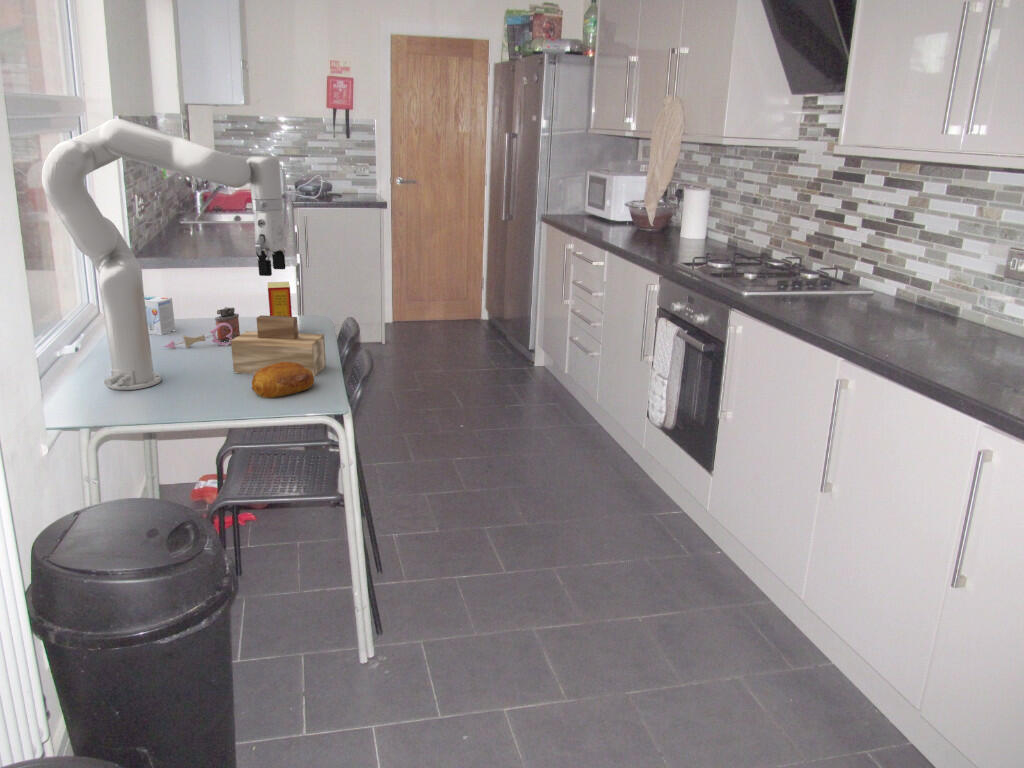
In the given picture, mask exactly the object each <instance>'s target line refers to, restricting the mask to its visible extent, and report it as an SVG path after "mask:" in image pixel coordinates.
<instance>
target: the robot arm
mask: <svg viewBox="0 0 1024 768" xmlns="http://www.w3.org/2000/svg"><path fill="white" fill-rule="evenodd" d="M121 158H123V159H127V160H130V161H133V162H138V163H141V164H145V165H149V166H152V167H155V168H158V169H163V170H166V171H170V172H172V173H176V174H181V175H186V176H191V177H194V178H197V179H202V180H204V181H206V182H207V181H208V182H211V183H215V184H219V185H222V186H224V187H229V188H233V189H239V188H243V187H245V186H246V185H247V184H249V186H250V196H251V197H250V198H251V209H252V213H254V239H255V241H254V242H255V245H254V247H255V248H254V249H255V251H256V252H255V254H256V256H257V257H256V260H257V263H258V264H257V266H258V267H257V268H258V275H259V276H262V277H271V276H272V275H273V273H272V268H273V270H286V257H285V254H286V253H285V252H286V251H285V250H286V249H285V248H286V247H287V245H288V241H287V233H286V227H285V225H286V224H285V220H284V219H285V218H284V214H283V212H284V206H283V194H282V181H281V178H282V177H281V169H280V167H281V165H280V160H279V158H278V157H277V156H273V155H253V156H244V155H239V154H238V155H236V154H230V153H228V152H227V153H225V152H224V151H221V150H220V151H219V150H216V149H213V148H210V147H206V146H203V145H200V144H198V143H195V142H193V141H190V140H188V139H186V138H184V137H181V136H178V135H176V134H172V133H169V132H165V131H162V130H159V129H155V128H152V127H149V126H144V125H142V124H139V123H135V122H132V121H130V120H126V119H124V118H123V119H122V118H112V119H111V118H110V119H109V120H106V122H104V123H102V124H100V125H98V126H97V127H94V128H92V129H90V130H88V131H85V132H84V133H82V134H79V135H77V136H74V137H72V138H70V139H67V140H64V141H62V142H60V143H58V144H56V145H55V146H54V147H53V148H52V150H51V151H50V152H49V153H48V155H47V156H46V159H45V161H44V163H43V166H42V170H41V183H42V188H43V191H44V193H45V196H46V197H47V199H48V201H49V202H50V204H51V206H52V208H53V209H54V211H55V213H57V216H58V217H59V219H60V221H61V223H62V224H63V226H64V228H65V229H66V230H67V233H68V234H69V235H70V236H71V239H72V241H73V242H74V245H75V246H76V248H77V249H78V250H79V252H80V253H82V254H83V255H85V256H87V257H88V259H90V262H91V263H92V264H93V266H94V268H95V269H96V271H97V272H98V288H99V292H100V293H99V294H100V299H101V304H102V310H103V315H104V316H103V317H104V318H103V319H104V324H105V328H106V329H105V330H106V336H107V345H108V352H109V358H110V359H109V360H110V364H111V371H110V373H111V376H110V377H108V378H106V379H104V381H103V382H104V383H103V384H104V386H105V387H108V388H110V389H113V390H117V391H129V390H132V391H133V390H140V389H141V390H142V389H146V388H149V387H153V386H156V385H157V384H159V383H161V381H162V375H161V374H159V373H157V372H155V371H154V365H153V364H154V362H153V354H152V348H151V339H150V334H149V330H148V322H147V315H146V307H145V300H144V296H145V293H144V281H143V270H142V267H141V264H140V263H139V261H138V259H137V258H136V256H135V254H134V253H133V252H132V250H131V248H130V247H129V245H128V244H127V242H126V241H125V238H124V237H123V235H122V233H121V232H120V231H119V229H118V228H117V226H116V225H115V223H114V222H113V221H112V220H110V219H109V218H107V217H106V216H104V215H103V213H102V212H101V210H100V209H99V207H98V206H97V204H96V202H95V201H94V199H93V197H92V196H91V194H90V193H89V191H88V190H87V188H86V186H85V177H86V176H87V175H89V174H91V173H93V172H94V171H96V170H98V169H101V168H102V167H104V166H107V165H109V164H111V163H114V162H115V161H117V160H120V159H121ZM272 252H273V253H272ZM271 253H272V254H271ZM271 255H272V256H271ZM270 257H272V260H271V259H270Z"/></svg>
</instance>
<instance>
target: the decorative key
mask: <svg viewBox="0 0 1024 768" xmlns="http://www.w3.org/2000/svg"><path fill="white" fill-rule="evenodd" d="M221 326H228V327H229V328H230V329H231V333H230V334H229V335H227V336H226V337H228V338H230V341H229V342H225V343H222V342H220V341H219V340H218V337H217V336H216V334H217V329H218V328H219V327H221ZM209 333H211V334H210V335H205V334H202V335H200V336H196V337H195V336H193V337H192V336H187V335H183V336H182V338H183V340H182V341H178V342H175V341H174V340H173V339H171V341H170V342H169V343H168V344H166V345H164V346H162V347H163V348H170V349H173V348H175V349H176V346H179V345H182V344H185V347H186V349H189V347H191V346H192V345H193V344H195V343H197V342H206V341H207V340H206V339H210V338H213V339H212V340H211V342H212V343H216V344H218V345H221V346H223V345H226V344H227V346H229V345H228V344H230V345H231V340H232V337H231V335H232V327H231V326H230V325H229V324H227V323H221V324H219V325H218V326H217V327H214V328H213V329H211V330H209Z"/></svg>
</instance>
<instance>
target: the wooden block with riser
mask: <svg viewBox="0 0 1024 768" xmlns="http://www.w3.org/2000/svg"><path fill="white" fill-rule="evenodd" d="M298 325H299V324H298V316H292V317H288V316H270V315H259V316H257V317H256V329H257V330H256V331H251V330H250V331H248V330H247V331H244V332H243V333H240V335H239V336H238V337H236V338H234V339H232V340H231V344H239V345H263V346H287V347H311V348H312V347H314V346H315V345H316V344H317V343H319V342H320V341H321V340H323V339H324V340H325V334H321V333H320V334H317V333H299V329H298V327H299V326H298ZM231 344H230V345H231Z"/></svg>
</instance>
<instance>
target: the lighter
mask: <svg viewBox="0 0 1024 768" xmlns="http://www.w3.org/2000/svg"><path fill="white" fill-rule="evenodd" d="M235 310H236V309H235V307H224V308H220V309H217V310H216V314H217V315H219V316H217V317H216V316H215V317H214V321H215V324H216V325H215V326H216V327H217V326H218V325H219V324H221V323H227V324H229V325H230V326H231V327H232V335H231V337H232V339H234V338H236V337H238V336H239V335H241V333H240V322H239V317H240V316H239V313H235ZM216 327H215V328H216ZM230 333H231V329H230V328H229V327H228V326H221V327H219V328H218V329H217V331H216V334H217V336H216V338H217V339H218V340H219V341H220V342H224V341H229V340H230V338H228V337H226V336H227V335H229V334H230ZM229 342H230V341H229Z"/></svg>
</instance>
